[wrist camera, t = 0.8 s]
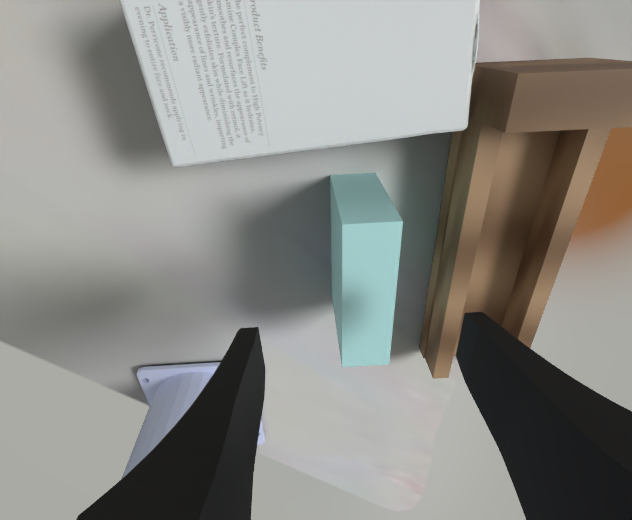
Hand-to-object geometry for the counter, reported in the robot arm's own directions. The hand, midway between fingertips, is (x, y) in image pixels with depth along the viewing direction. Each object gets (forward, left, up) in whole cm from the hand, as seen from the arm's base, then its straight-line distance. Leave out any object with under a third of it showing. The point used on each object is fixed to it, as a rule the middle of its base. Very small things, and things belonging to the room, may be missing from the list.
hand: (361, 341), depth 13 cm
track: (-1, -9, -9) cm, 13 cm away
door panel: (-1, -1, -10) cm, 10 cm away
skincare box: (+8, +8, -7) cm, 13 cm away
